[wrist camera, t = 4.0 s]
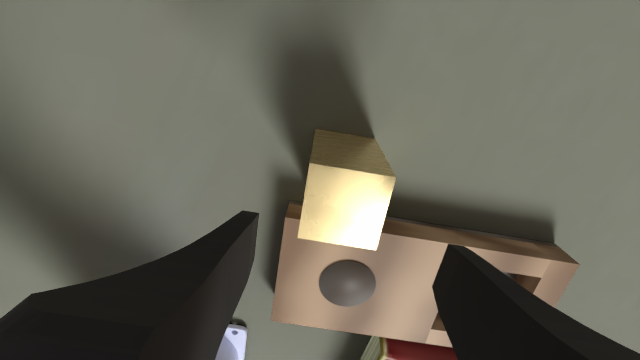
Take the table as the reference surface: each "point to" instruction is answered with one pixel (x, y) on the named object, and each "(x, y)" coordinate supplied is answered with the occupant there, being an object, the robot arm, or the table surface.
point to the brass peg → (346, 191)
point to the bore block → (398, 277)
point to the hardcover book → (405, 350)
